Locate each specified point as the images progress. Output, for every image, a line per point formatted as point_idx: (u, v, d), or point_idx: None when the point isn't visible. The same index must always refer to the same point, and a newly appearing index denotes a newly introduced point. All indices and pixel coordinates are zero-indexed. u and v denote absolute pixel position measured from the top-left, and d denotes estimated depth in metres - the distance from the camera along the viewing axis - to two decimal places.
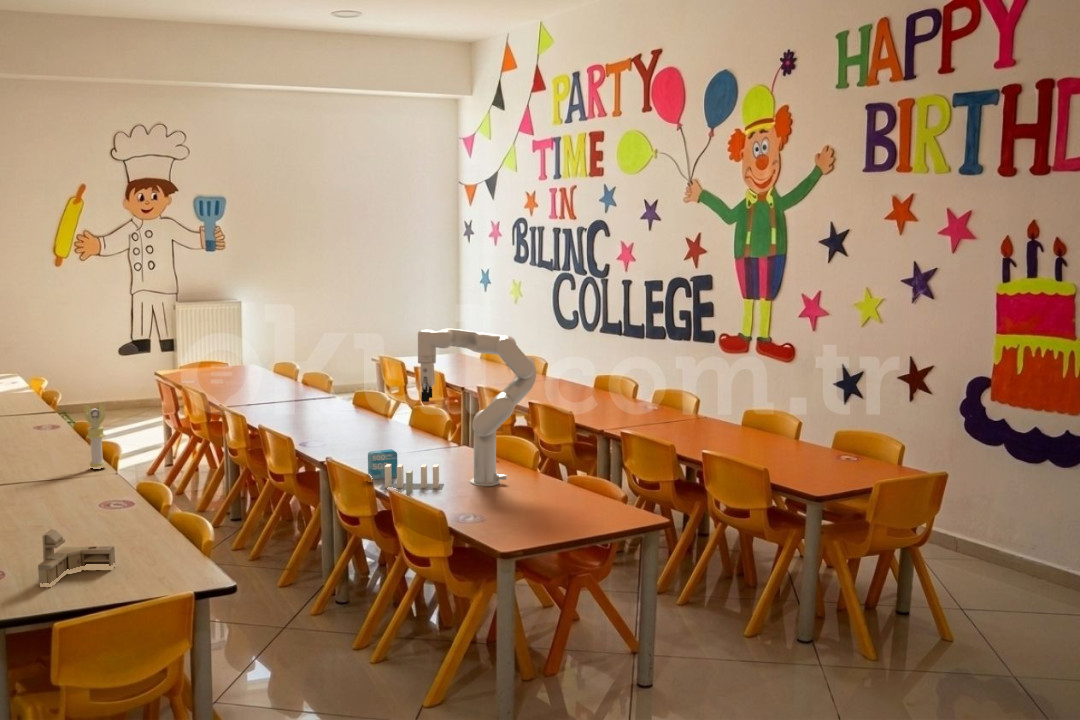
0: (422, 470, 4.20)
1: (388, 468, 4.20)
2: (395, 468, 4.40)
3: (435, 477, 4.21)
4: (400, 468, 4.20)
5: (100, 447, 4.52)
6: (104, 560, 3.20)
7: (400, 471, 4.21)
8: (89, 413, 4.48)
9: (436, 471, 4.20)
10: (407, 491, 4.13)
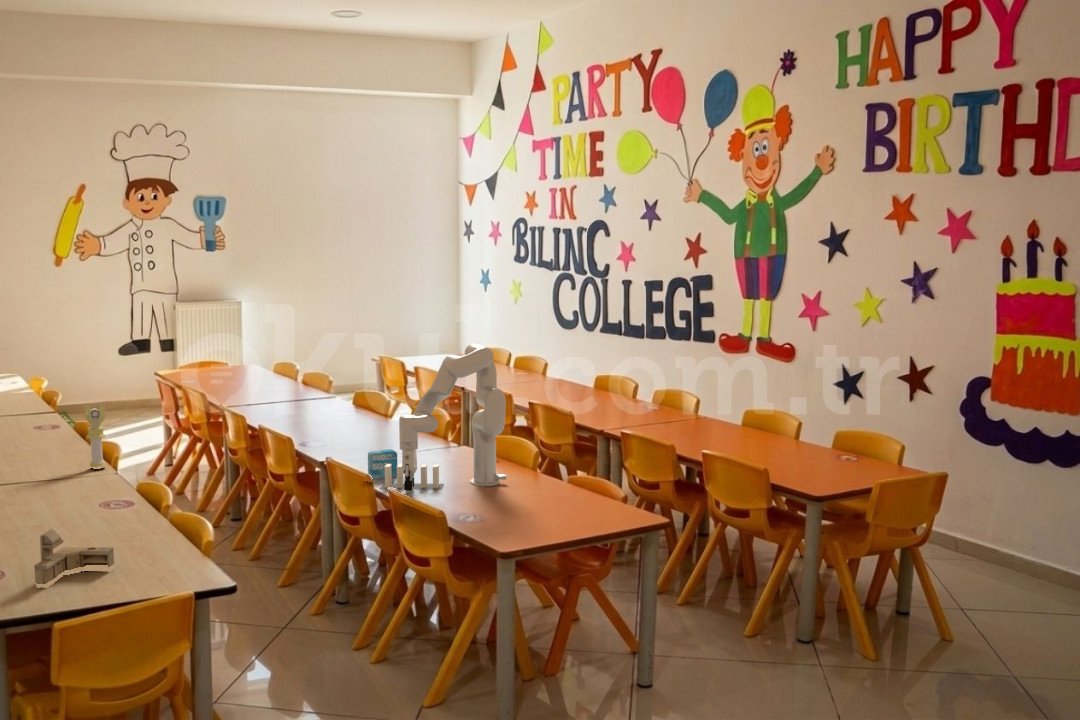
0: (422, 470, 4.20)
1: (388, 468, 4.20)
2: (395, 468, 4.40)
3: (435, 477, 4.21)
4: (400, 468, 4.20)
5: (100, 447, 4.52)
6: (102, 561, 3.19)
7: (400, 471, 4.21)
8: (89, 413, 4.48)
9: (436, 471, 4.20)
10: (407, 491, 4.13)
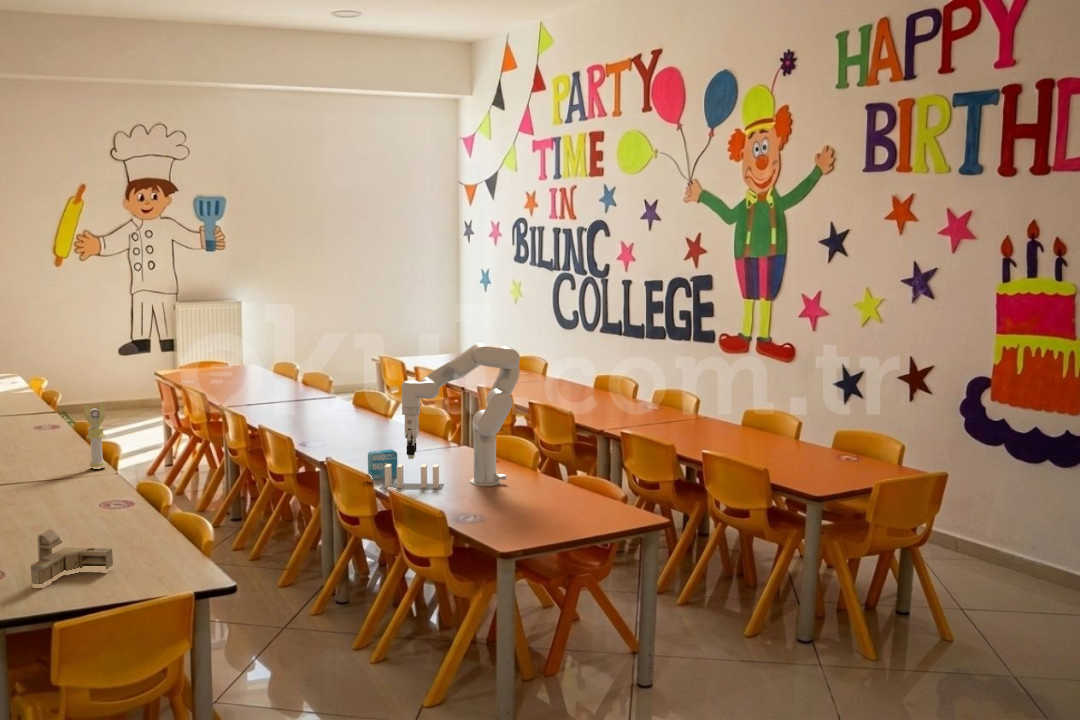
0: (422, 470, 4.20)
1: (388, 468, 4.20)
2: (395, 468, 4.40)
3: (435, 477, 4.21)
4: (400, 468, 4.20)
5: (100, 447, 4.52)
6: (101, 562, 3.18)
7: (400, 471, 4.21)
8: (89, 413, 4.48)
9: (436, 471, 4.20)
10: (409, 456, 4.20)
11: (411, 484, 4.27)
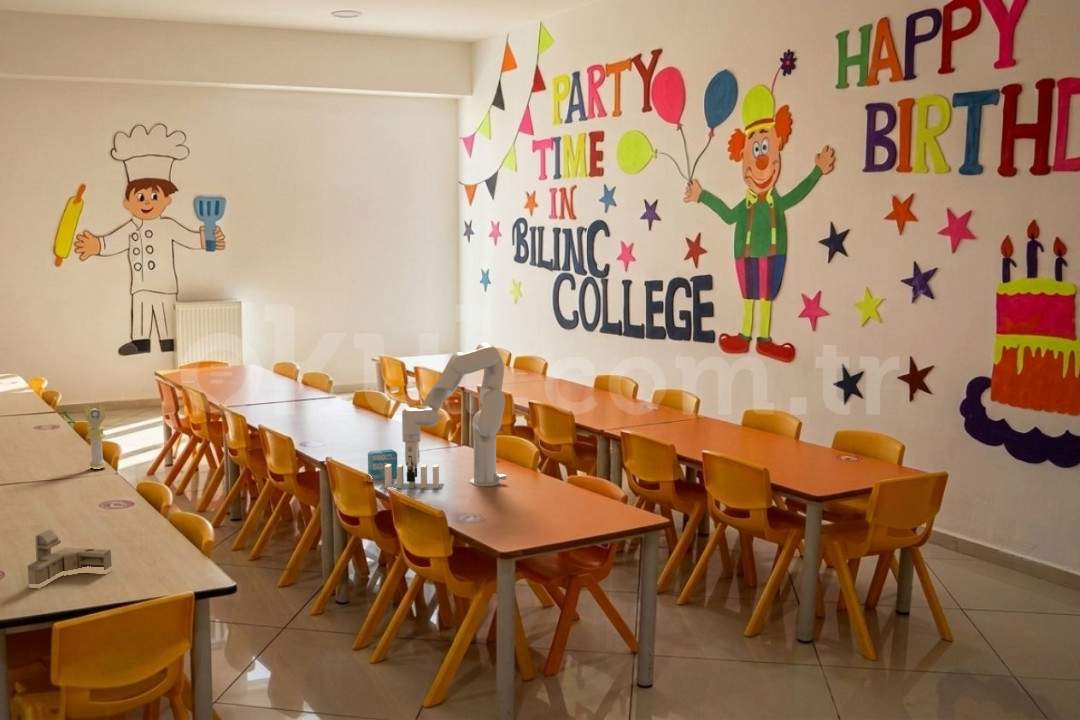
0: (422, 470, 4.20)
1: (388, 468, 4.20)
2: (395, 468, 4.40)
3: (435, 477, 4.21)
4: (400, 468, 4.20)
5: (100, 447, 4.52)
6: (99, 563, 3.17)
7: (400, 471, 4.21)
8: (89, 413, 4.48)
9: (436, 471, 4.20)
10: (410, 485, 4.21)
11: None
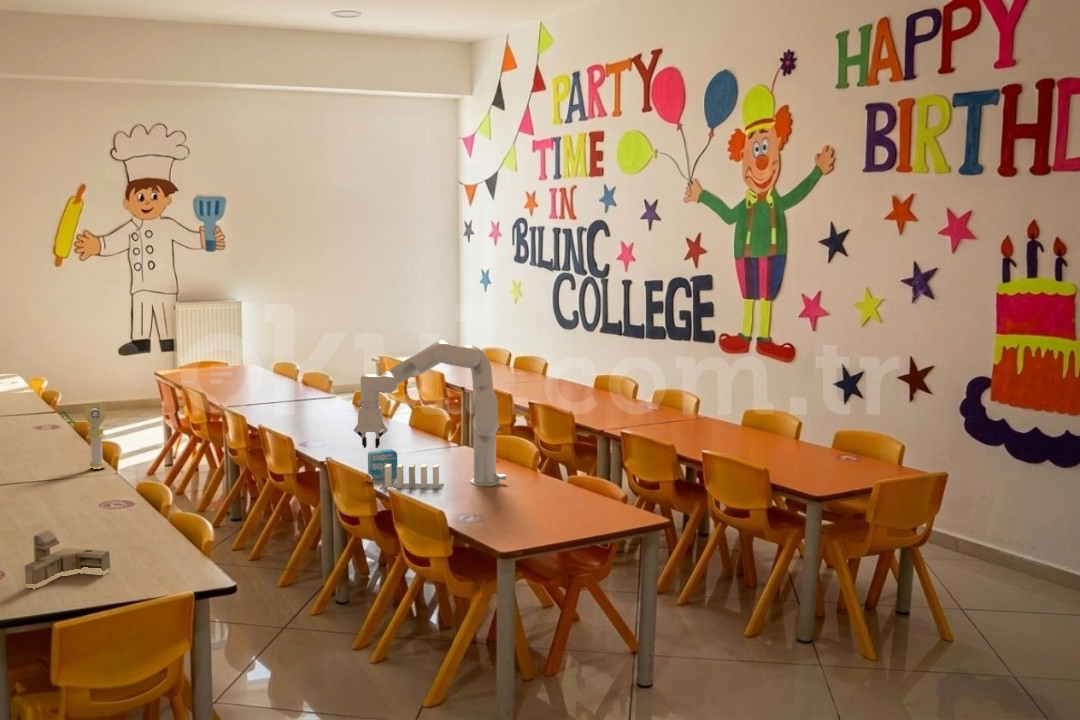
0: (422, 470, 4.20)
1: (388, 468, 4.20)
2: (395, 468, 4.40)
3: (435, 477, 4.21)
4: (400, 468, 4.20)
5: (100, 447, 4.52)
6: (97, 564, 3.16)
7: (400, 471, 4.21)
8: (89, 413, 4.48)
9: (436, 471, 4.20)
10: (410, 485, 4.21)
11: None
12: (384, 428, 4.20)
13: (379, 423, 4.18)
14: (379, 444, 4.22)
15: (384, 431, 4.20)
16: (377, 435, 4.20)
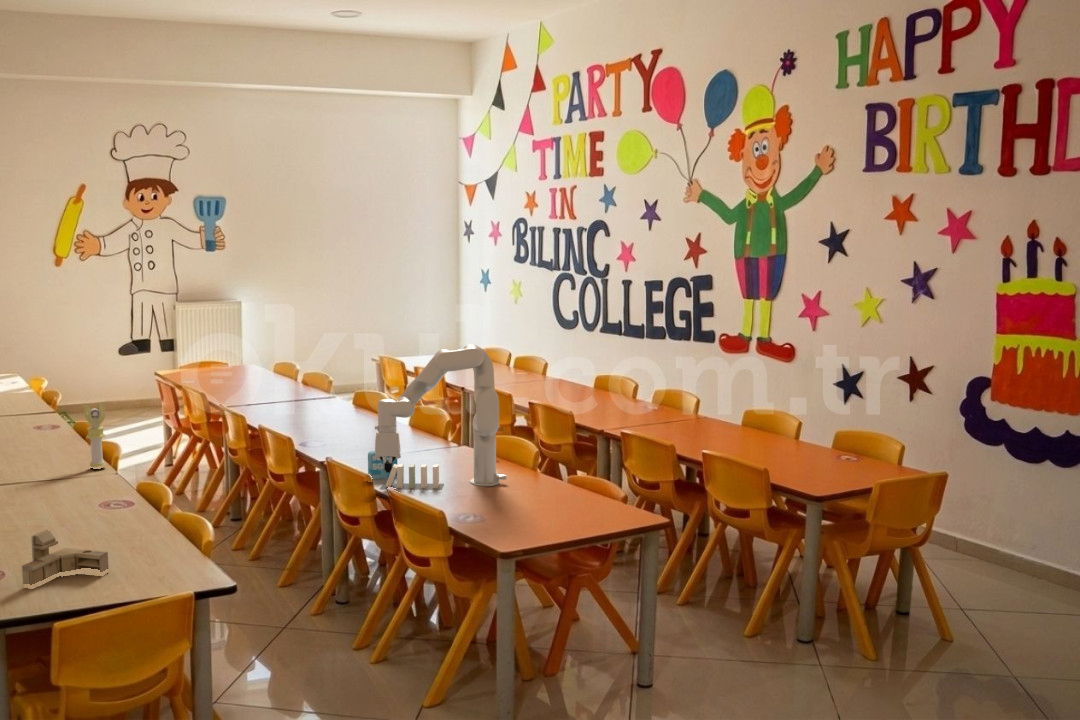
0: (422, 470, 4.20)
1: (395, 469, 4.20)
2: None
3: (435, 477, 4.21)
4: (400, 468, 4.20)
5: (100, 447, 4.52)
6: (95, 565, 3.15)
7: (400, 471, 4.21)
8: (89, 413, 4.48)
9: (436, 471, 4.20)
10: (410, 485, 4.21)
11: None
12: (398, 454, 4.22)
13: (396, 448, 4.19)
14: (391, 469, 4.23)
15: (397, 457, 4.22)
16: (390, 460, 4.21)
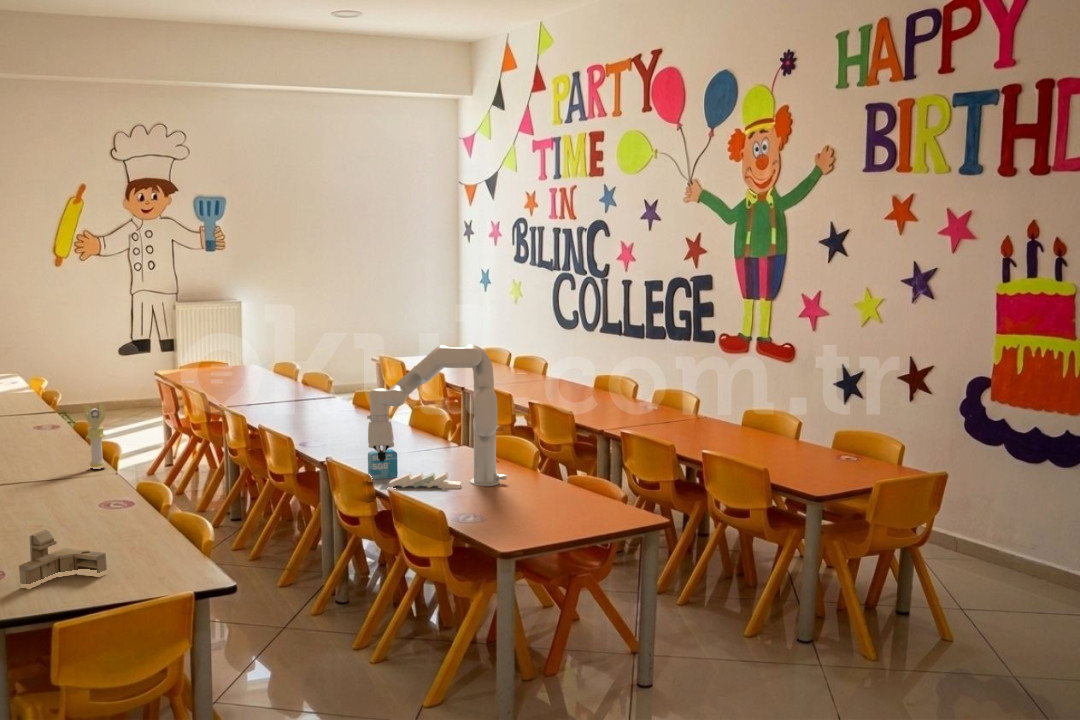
0: (443, 477, 4.21)
1: (408, 479, 4.21)
2: (395, 468, 4.40)
3: (449, 486, 4.21)
4: (420, 479, 4.21)
5: (100, 447, 4.52)
6: (93, 566, 3.15)
7: (417, 480, 4.21)
8: (89, 413, 4.48)
9: None
10: (415, 483, 4.21)
11: (411, 484, 4.27)
12: None
13: (389, 436, 4.21)
14: (385, 457, 4.25)
15: (390, 446, 4.24)
16: (384, 449, 4.23)
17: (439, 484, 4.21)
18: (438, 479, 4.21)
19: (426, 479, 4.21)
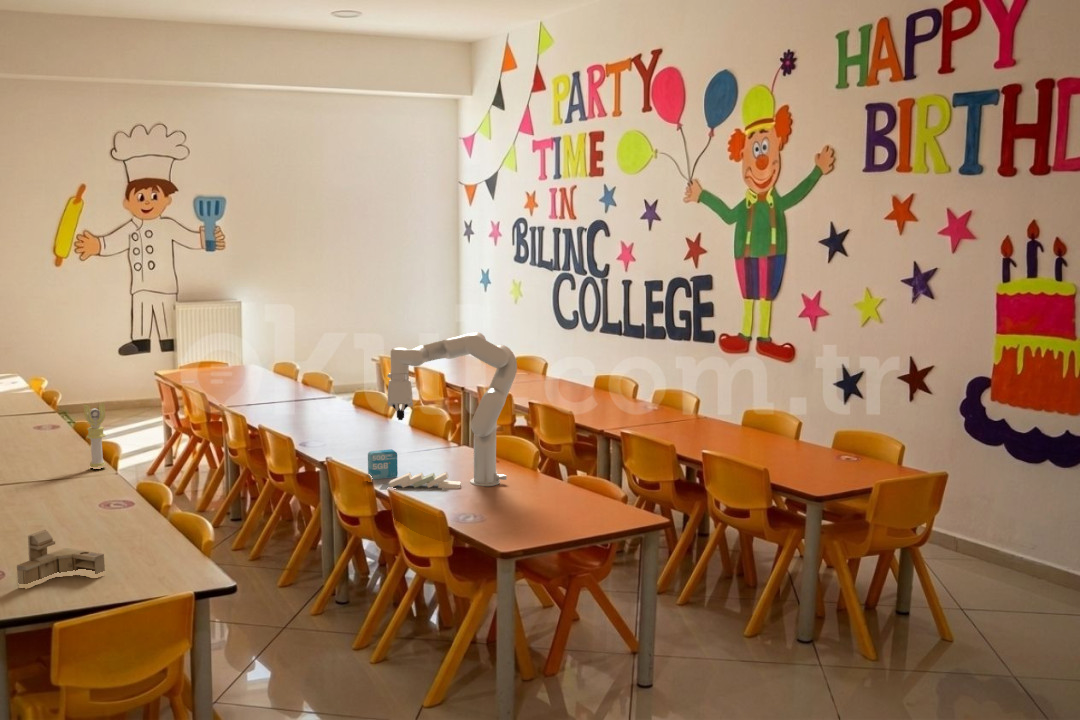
0: (443, 477, 4.21)
1: (408, 479, 4.21)
2: (395, 468, 4.40)
3: (449, 486, 4.21)
4: (420, 479, 4.21)
5: (100, 447, 4.52)
6: (91, 567, 3.14)
7: (417, 480, 4.21)
8: (89, 413, 4.48)
9: None
10: (415, 483, 4.21)
11: (411, 484, 4.27)
12: None
13: (409, 395, 4.26)
14: None
15: (409, 405, 4.29)
16: (402, 407, 4.28)
17: (439, 484, 4.21)
18: (438, 479, 4.21)
19: (426, 479, 4.21)
